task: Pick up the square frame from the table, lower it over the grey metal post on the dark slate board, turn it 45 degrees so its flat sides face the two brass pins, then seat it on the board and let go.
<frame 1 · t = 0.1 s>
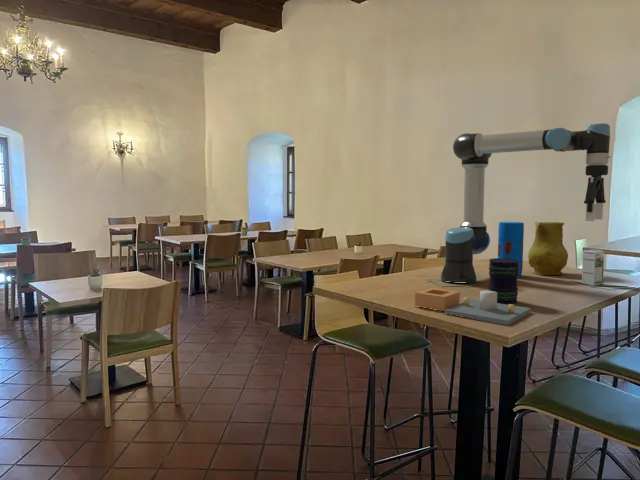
hand: (594, 220, 184), 28 cm above the table, tool pointing down, fingers open, 13 cm apart
thermos: (509, 276, 223), on the table
syrup box: (591, 284, 201), on the table
yellow rounded vessel: (548, 274, 227), on the table
post board: (487, 313, 153), on the table
square frame: (437, 306, 163), on the table
storage jar: (502, 302, 170), on the table
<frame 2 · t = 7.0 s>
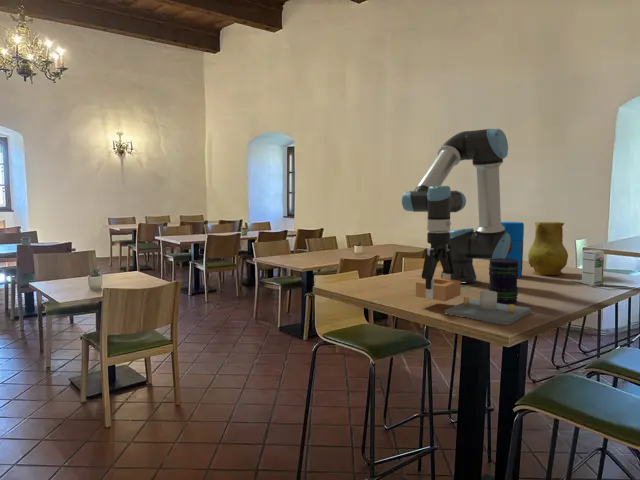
hand: (438, 295, 163), 4 cm above the table, tool pointing down, fingers closed on square frame, 11 cm apart
square frame: (438, 295, 163), point 4 cm above the table, touching gripper
everything else where it was.
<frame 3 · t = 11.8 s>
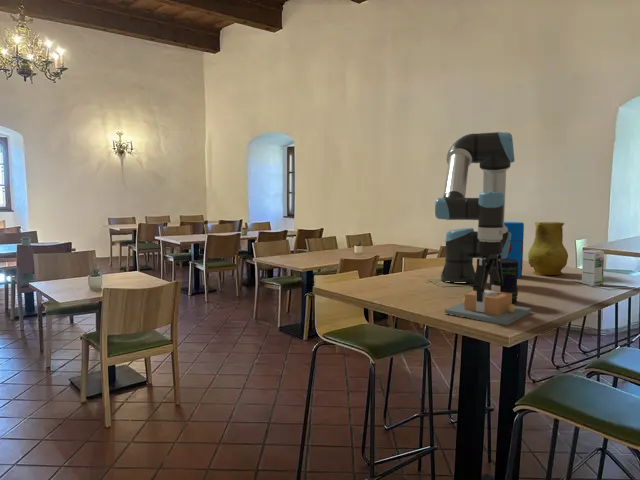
hand: (488, 308, 153), 2 cm above the table, tool pointing down, fingers closed on square frame, 11 cm apart
square frame: (488, 308, 153), point 2 cm above the table, touching gripper, post board
everything else where it was.
when the fingers open (2 cm above the table, at t = 12.3 s): square frame stays where it is, resting on post board.
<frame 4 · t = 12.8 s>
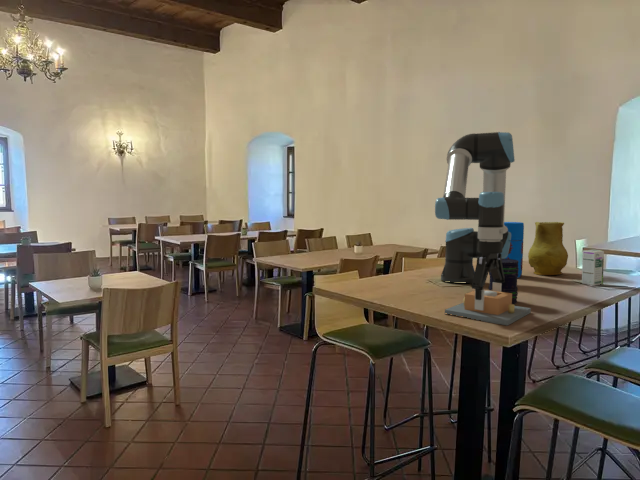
hand: (488, 305, 153), 3 cm above the table, tool pointing down, fingers open, 13 cm apart
square frame: (488, 308, 153), point 1 cm above the table, touching post board
everything else where it was.
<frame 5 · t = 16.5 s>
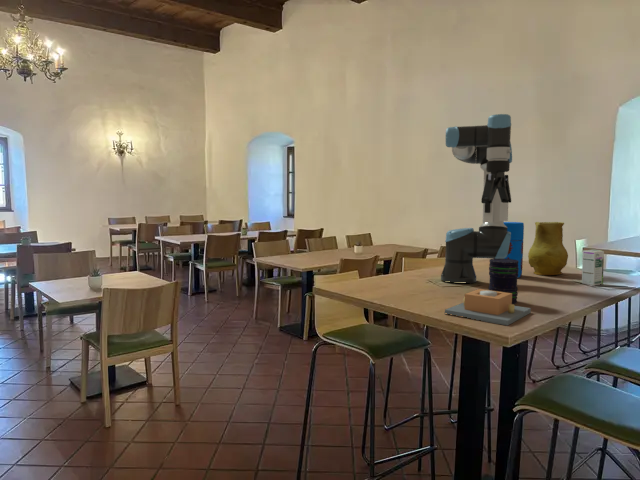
hand: (496, 221, 166), 29 cm above the table, tool pointing down, fingers open, 13 cm apart
nothing on the table moved.
at the end: square frame 0.1 cm off-centre on the post board, point 1.5 cm above the post board's base; square frame tilted 0°; the gripper is holding nothing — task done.
